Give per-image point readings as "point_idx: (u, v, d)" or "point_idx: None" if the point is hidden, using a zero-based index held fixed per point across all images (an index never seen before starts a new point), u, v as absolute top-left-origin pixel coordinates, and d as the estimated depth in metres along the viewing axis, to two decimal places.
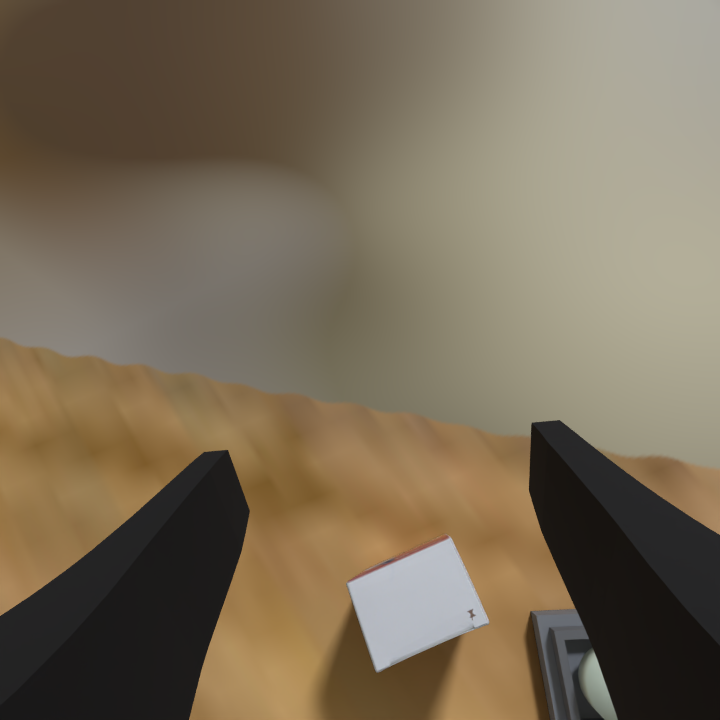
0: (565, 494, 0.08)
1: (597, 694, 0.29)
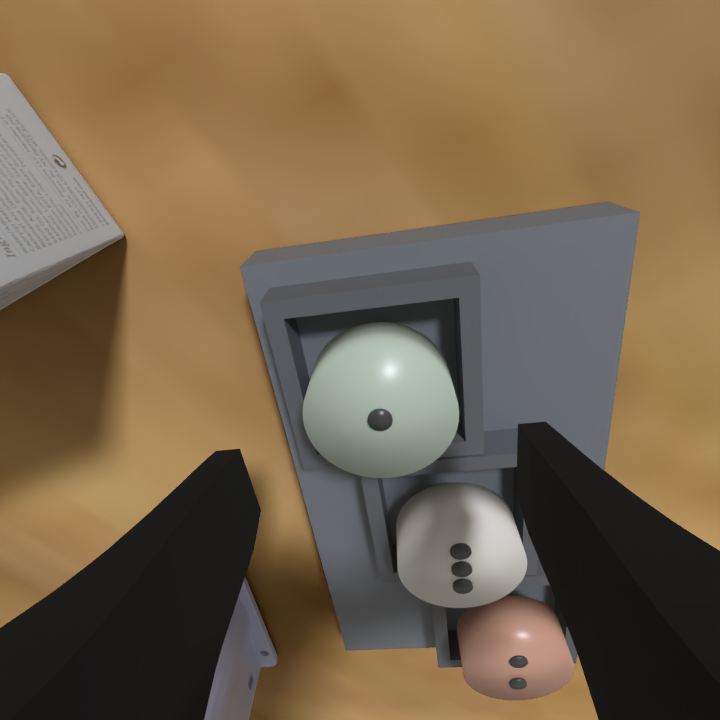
0: (549, 496, 0.08)
1: (325, 430, 0.13)
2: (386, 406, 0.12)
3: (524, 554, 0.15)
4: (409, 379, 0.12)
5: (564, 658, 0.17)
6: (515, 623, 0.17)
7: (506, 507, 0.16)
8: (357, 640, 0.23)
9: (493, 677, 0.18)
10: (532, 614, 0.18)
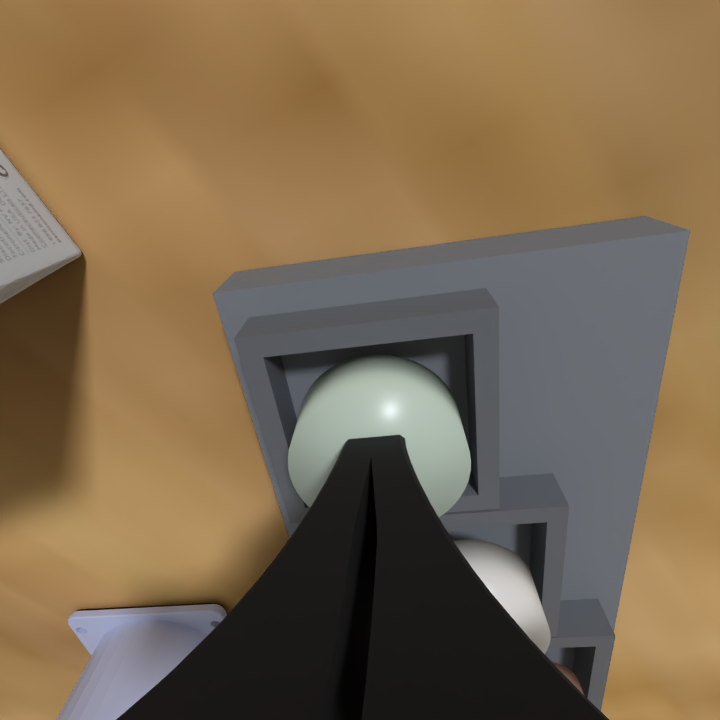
0: None
1: (314, 481, 0.11)
2: None
3: (547, 628, 0.12)
4: (412, 425, 0.10)
5: None
6: None
7: (525, 568, 0.14)
8: None
9: None
10: None
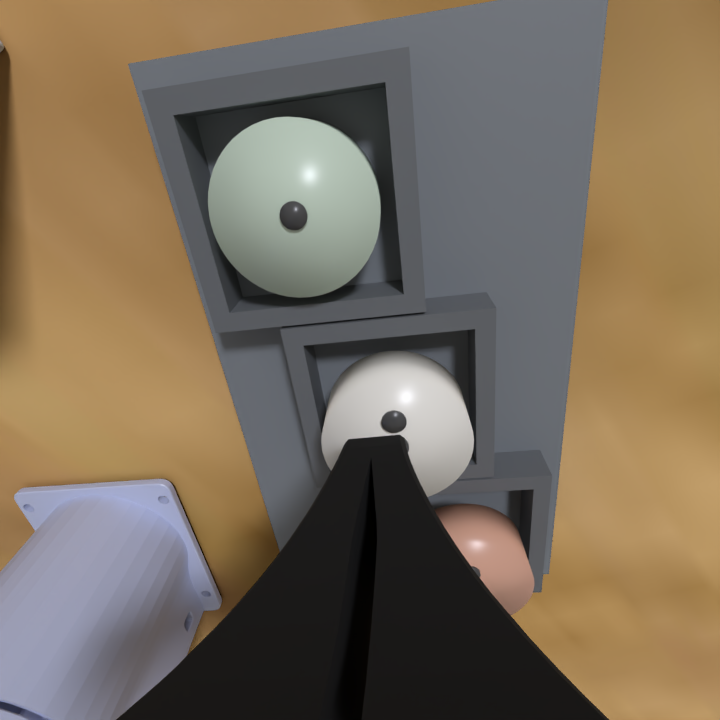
0: None
1: (234, 231, 0.11)
2: (299, 197, 0.11)
3: (469, 426, 0.12)
4: (322, 160, 0.11)
5: (522, 570, 0.15)
6: (466, 529, 0.15)
7: (453, 380, 0.13)
8: None
9: None
10: (487, 521, 0.15)
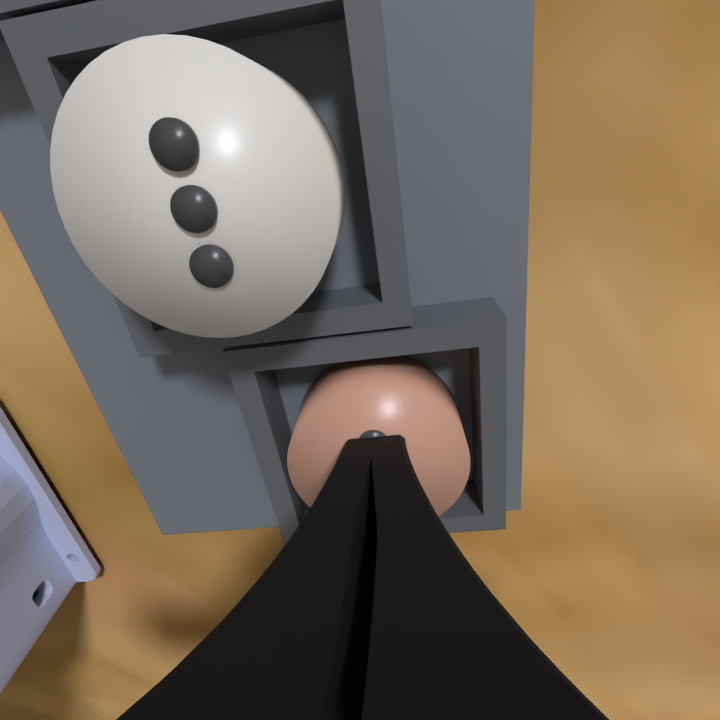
0: None
1: None
2: None
3: (321, 151, 0.06)
4: None
5: (450, 434, 0.10)
6: (367, 377, 0.10)
7: (310, 106, 0.07)
8: (174, 515, 0.15)
9: None
10: (401, 370, 0.10)
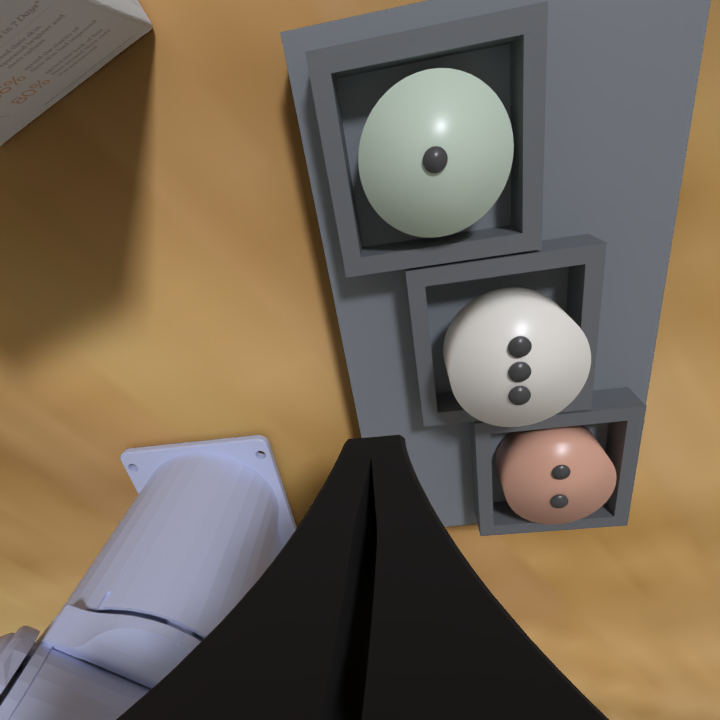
0: None
1: (379, 177, 0.13)
2: (441, 143, 0.12)
3: (588, 349, 0.14)
4: (465, 106, 0.12)
5: (606, 466, 0.17)
6: (557, 434, 0.18)
7: None
8: None
9: (534, 495, 0.18)
10: (573, 428, 0.18)
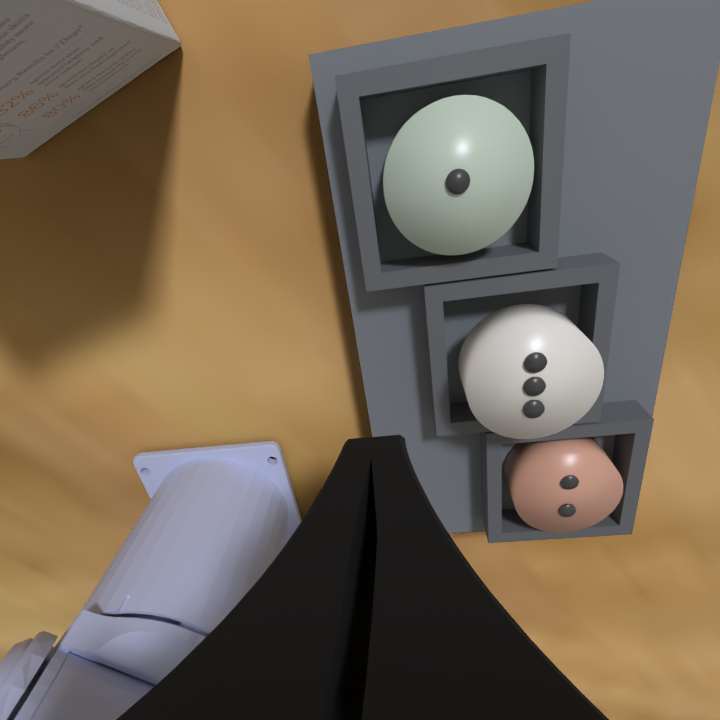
0: None
1: (403, 197, 0.13)
2: (465, 165, 0.13)
3: (602, 365, 0.14)
4: (489, 131, 0.12)
5: (614, 477, 0.18)
6: (566, 445, 0.18)
7: None
8: None
9: (543, 504, 0.19)
10: (582, 440, 0.18)
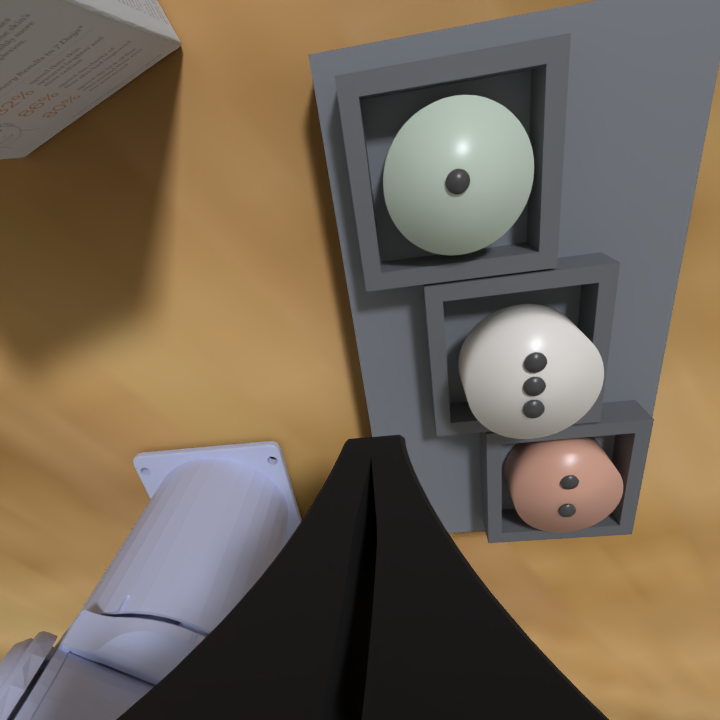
0: None
1: (403, 197, 0.13)
2: (465, 165, 0.13)
3: (602, 365, 0.14)
4: (489, 131, 0.12)
5: (614, 477, 0.18)
6: (566, 445, 0.18)
7: None
8: None
9: (543, 504, 0.19)
10: (582, 440, 0.18)
